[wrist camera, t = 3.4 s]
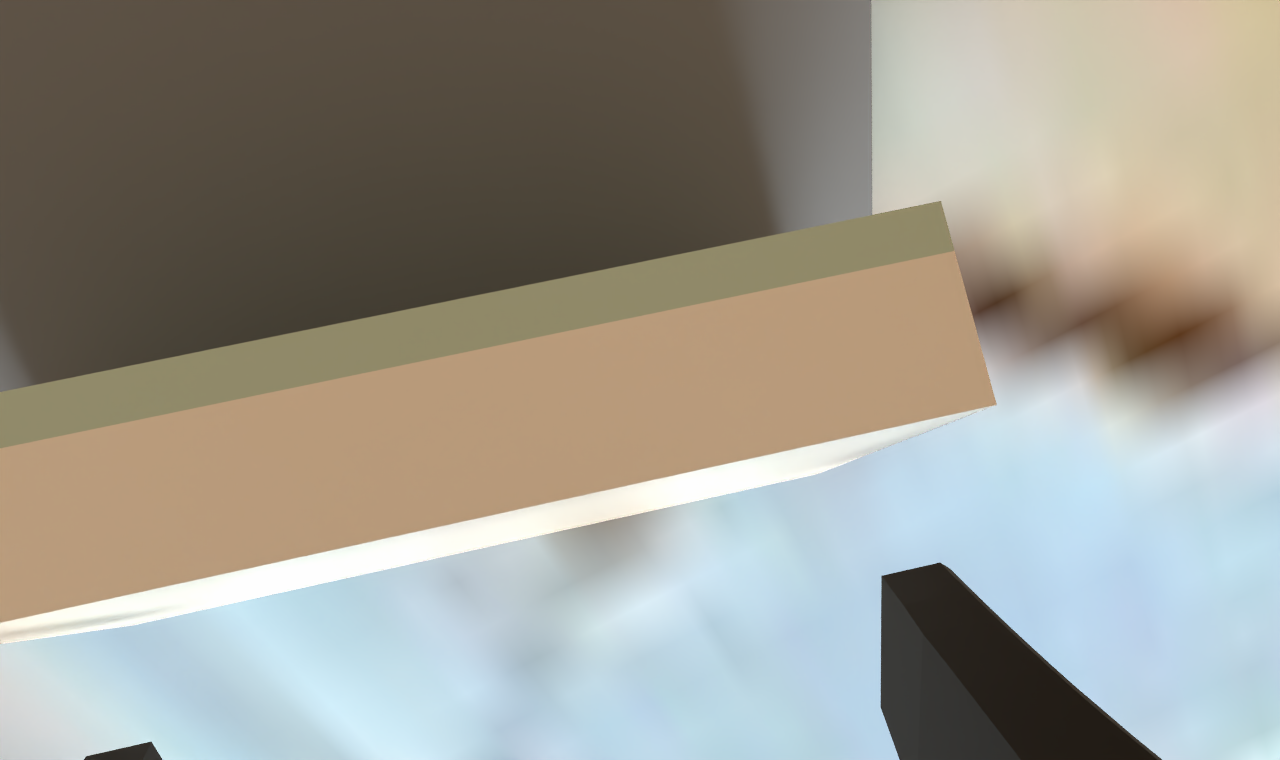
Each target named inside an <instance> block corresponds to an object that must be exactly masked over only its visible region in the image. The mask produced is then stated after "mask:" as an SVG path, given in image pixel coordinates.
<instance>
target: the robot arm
mask: <svg viewBox="0 0 1280 760" xmlns="http://www.w3.org/2000/svg"><path fill="white" fill-rule="evenodd" d="M881 709H882V712H883V715H884V717H885V720H886V723H887V726H888V728H889V731H890V734H891V737H892V740H893V742H894V745H895V748H896V751H897V753H898V756H899V759H900V760H1162V759H1161V758H1159V757H1158V756H1157V755H1156V754H1155V753H1153V752H1152V751H1151V750H1150V749H1148V748H1147V747H1146V746H1145V745H1143V744H1142V743H1141V742H1140V741H1139V740H1137V739H1136V738H1135V737H1134V736H1132V735H1131V734H1130V733H1129V732H1128V731H1127V730H1125V729H1124V728H1123V727H1122V726H1121V725H1120V724H1118V723H1117V722H1116V721H1115V720H1114V719H1113V718H1111V717H1110V716H1109V715H1108V714H1107V713H1106V712H1104V711H1103V710H1102V709H1101V708H1100V707H1098V706H1097V705H1096V704H1095V703H1094V702H1093V701H1091V700H1090V699H1089V698H1088V697H1087V696H1086V695H1084V694H1083V693H1082V692H1081V691H1080V690H1079V689H1077V688H1076V687H1075V686H1074V685H1073V684H1072V683H1071V682H1069V681H1068V680H1067V679H1066V678H1065V677H1064V676H1063V675H1062V674H1060V673H1059V672H1058V671H1057V670H1056V669H1055V668H1054V667H1053V666H1052V665H1050V664H1049V663H1048V662H1047V661H1046V660H1045V659H1044V658H1043V657H1042V656H1041V655H1040V654H1038V653H1037V652H1036V651H1035V650H1034V649H1033V648H1032V647H1031V646H1030V645H1029V644H1028V643H1026V642H1025V641H1024V640H1023V639H1022V638H1021V637H1020V636H1019V635H1018V634H1017V633H1016V632H1015V631H1014V630H1013V629H1011V628H1010V627H1009V626H1008V625H1007V624H1006V623H1005V622H1004V621H1003V620H1002V619H1001V618H1000V617H999V616H998V615H997V614H996V613H995V612H994V611H993V610H991V609H990V608H989V607H988V606H987V605H986V604H985V603H984V602H983V601H982V600H981V599H980V598H979V597H978V596H977V595H976V594H975V593H974V592H973V591H972V590H971V589H970V588H969V587H968V586H967V585H966V584H965V583H964V582H963V581H962V580H961V579H960V578H959V577H958V576H957V575H956V574H955V573H954V572H953V571H952V570H951V569H949V568H948V567H946V566H945V565H943V564H942V563H937V564H932V565H928V566H923V567H919V568H915V569H910V570H906V571H901V572H897V573H892V574H888V575H884V576H882V600H881ZM84 760H162V758H161V757H160V755H159V753H158V752H157V750H156V748H155V747H154V745H153V744H152V742H148V743H143V744H139V745H135V746H130V747H126V748H121V749H117V750H112V751H108V752H104V753H99V754H95V755H90V756H86V758H85V759H84Z"/></svg>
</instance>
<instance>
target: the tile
mask: <svg viewBox="0 0 1280 760" xmlns="http://www.w3.org/2000/svg"><path fill="white" fill-rule="evenodd" d="M995 405H997V404H996V401H995V397H994V393H993V390H992V386H991V383H990V379H989V375H988V372H987V368H986V364H985V361H984V357H983V353H982V350H981V346H980V342H979V339H978V335H977V331H976V328H975V324H974V320H973V317H972V313H971V310H970V306H969V302H968V299H967V295H966V291H965V288H964V284H963V280H962V277H961V273H960V269H959V266H958V262H957V258H956V255H955V251H954V247H953V244H952V240H951V237H950V233H949V229H948V226H947V222H946V218H945V215H944V211H943V207H942V204H941V201H939V202H934V203H929V204H924V205H919V206H914V207H909V208H905V209H900V210H895V211H890V212H885V213H880V214H875V215H870V216H865V217H860V218H855V219H850V220H845V221H841V222H836V223H831V224H826V225H821V226H816V227H811V228H806V229H801V230H796V231H791V232H786V233H781V234H776V235H772V236H767V237H762V238H757V239H752V240H747V241H742V242H737V243H732V244H727V245H722V246H717V247H712V248H708V249H703V250H698V251H693V252H688V253H683V254H678V255H673V256H668V257H663V258H658V259H653V260H648V261H644V262H639V263H634V264H629V265H624V266H619V267H614V268H609V269H604V270H599V271H594V272H589V273H584V274H579V275H575V276H570V277H565V278H560V279H555V280H550V281H545V282H540V283H535V284H530V285H525V286H520V287H515V288H511V289H506V290H501V291H496V292H491V293H486V294H481V295H476V296H471V297H466V298H461V299H456V300H451V301H447V302H442V303H437V304H432V305H427V306H422V307H417V308H412V309H407V310H402V311H397V312H392V313H387V314H382V315H378V316H373V317H368V318H363V319H358V320H353V321H348V322H343V323H338V324H333V325H328V326H323V327H318V328H314V329H309V330H304V331H299V332H294V333H289V334H284V335H279V336H274V337H269V338H264V339H259V340H254V341H250V342H245V343H240V344H235V345H230V346H225V347H220V348H215V349H210V350H205V351H200V352H195V353H190V354H185V355H181V356H176V357H171V358H166V359H161V360H156V361H151V362H146V363H141V364H136V365H131V366H126V367H121V368H117V369H112V370H107V371H102V372H97V373H92V374H87V375H82V376H77V377H72V378H67V379H62V380H57V381H53V382H48V383H43V384H38V385H33V386H28V387H23V388H18V389H13V390H8V391H3V392H0V644H4V643H11V642H18V641H25V640H33V639H40V638H47V637H54V636H61V635H68V634H75V633H82V632H90V631H97V630H104V629H111V628H118V627H125V626H132V625H137V624H141V623H146V622H150V621H155V620H159V619H164V618H168V617H173V616H178V615H182V614H187V613H191V612H196V611H200V610H205V609H209V608H214V607H218V606H223V605H227V604H232V603H236V602H241V601H245V600H250V599H254V598H259V597H264V596H268V595H273V594H277V593H282V592H286V591H291V590H295V589H300V588H304V587H309V586H313V585H318V584H322V583H327V582H331V581H336V580H340V579H345V578H349V577H354V576H359V575H363V574H368V573H372V572H377V571H381V570H386V569H390V568H395V567H399V566H404V565H408V564H413V563H417V562H422V561H426V560H431V559H435V558H440V557H445V556H449V555H454V554H458V553H463V552H467V551H472V550H476V549H481V548H485V547H490V546H494V545H499V544H503V543H508V542H512V541H517V540H521V539H526V538H530V537H535V536H540V535H544V534H549V533H553V532H558V531H562V530H567V529H571V528H576V527H580V526H585V525H589V524H594V523H598V522H603V521H607V520H612V519H616V518H621V517H626V516H630V515H635V514H639V513H644V512H648V511H653V510H657V509H662V508H666V507H671V506H675V505H680V504H684V503H689V502H693V501H698V500H702V499H707V498H711V497H716V496H721V495H725V494H730V493H734V492H739V491H743V490H748V489H752V488H757V487H761V486H766V485H770V484H775V483H779V482H784V481H788V480H793V479H797V478H802V477H807V476H811V475H816V474H819V473H822V472H824V471H827V470H829V469H832V468H835V467H837V466H840V465H842V464H845V463H848V462H850V461H853V460H855V459H858V458H860V457H863V456H866V455H868V454H871V453H873V452H876V451H879V450H881V449H884V448H886V447H889V446H891V445H894V444H897V443H899V442H902V441H904V440H907V439H910V438H912V437H915V436H917V435H920V434H923V433H925V432H928V431H930V430H933V429H935V428H938V427H941V426H943V425H946V424H948V423H951V422H954V421H956V420H959V419H961V418H964V417H966V416H969V415H972V414H974V413H977V412H979V411H982V410H985V409H987V408H990V407H992V406H995Z"/></svg>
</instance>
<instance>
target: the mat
mask: <svg viewBox="0 0 1280 760" xmlns="http://www.w3.org/2000/svg"><path fill="white" fill-rule="evenodd" d="M870 215H872V80H871V0H0V392H3V391H8V390H13V389H18V388H23V387H28V386H33V385H38V384H43V383H48V382H53V381H57V380H62V379H67V378H72V377H77V376H82V375H87V374H92V373H97V372H102V371H107V370H112V369H117V368H121V367H126V366H131V365H136V364H141V363H146V362H151V361H156V360H161V359H166V358H171V357H176V356H181V355H185V354H190V353H195V352H200V351H205V350H210V349H215V348H220V347H225V346H230V345H235V344H240V343H245V342H250V341H254V340H259V339H264V338H269V337H274V336H279V335H284V334H289V333H294V332H299V331H304V330H309V329H314V328H318V327H323V326H328V325H333V324H338V323H343V322H348V321H353V320H358V319H363V318H368V317H373V316H378V315H382V314H387V313H392V312H397V311H402V310H407V309H412V308H417V307H422V306H427V305H432V304H437V303H442V302H447V301H451V300H456V299H461V298H466V297H471V296H476V295H481V294H486V293H491V292H496V291H501V290H506V289H511V288H515V287H520V286H525V285H530V284H535V283H540V282H545V281H550V280H555V279H560V278H565V277H570V276H575V275H579V274H584V273H589V272H594V271H599V270H604V269H609V268H614V267H619V266H624V265H629V264H634V263H639V262H644V261H648V260H653V259H658V258H663V257H668V256H673V255H678V254H683V253H688V252H693V251H698V250H703V249H708V248H712V247H717V246H722V245H727V244H732V243H737V242H742V241H747V240H752V239H757V238H762V237H767V236H772V235H776V234H781V233H786V232H791V231H796V230H801V229H806V228H811V227H816V226H821V225H826V224H831V223H836V222H841V221H845V220H850V219H855V218H860V217H865V216H870Z"/></svg>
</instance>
